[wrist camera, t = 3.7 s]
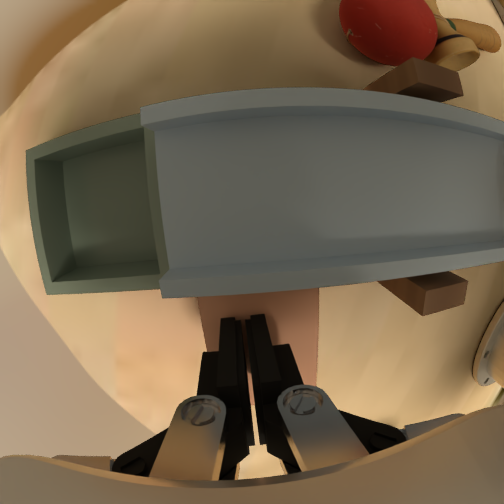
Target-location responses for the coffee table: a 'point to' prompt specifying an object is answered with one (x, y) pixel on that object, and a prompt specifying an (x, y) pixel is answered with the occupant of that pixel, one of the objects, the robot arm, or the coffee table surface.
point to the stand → (435, 89)
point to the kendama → (414, 33)
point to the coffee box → (499, 7)
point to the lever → (318, 200)
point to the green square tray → (97, 209)
